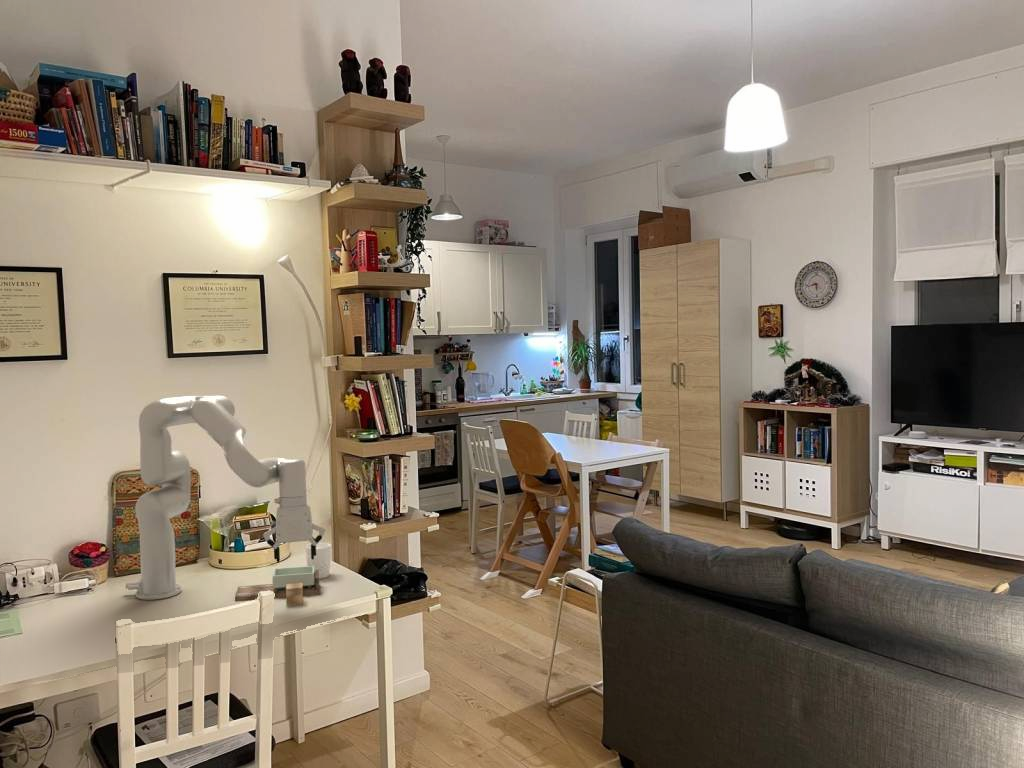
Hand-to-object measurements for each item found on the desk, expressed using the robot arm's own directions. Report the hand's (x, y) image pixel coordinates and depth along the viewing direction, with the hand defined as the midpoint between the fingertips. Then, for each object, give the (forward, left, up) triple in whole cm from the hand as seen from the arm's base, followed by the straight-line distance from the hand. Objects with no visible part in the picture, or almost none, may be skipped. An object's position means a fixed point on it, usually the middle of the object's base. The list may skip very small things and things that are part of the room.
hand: (295, 559), depth 224 cm
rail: (-5, +11, -13) cm, 18 cm away
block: (0, 0, -13) cm, 13 cm away
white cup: (+7, +25, -13) cm, 29 cm away
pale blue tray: (-1, +11, -11) cm, 16 cm away
